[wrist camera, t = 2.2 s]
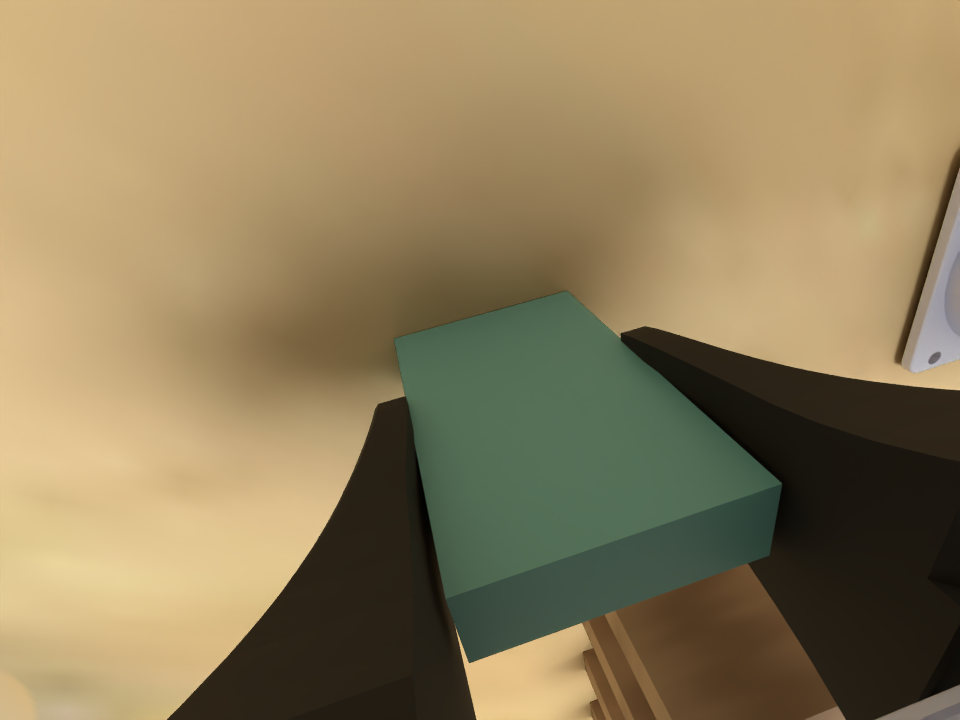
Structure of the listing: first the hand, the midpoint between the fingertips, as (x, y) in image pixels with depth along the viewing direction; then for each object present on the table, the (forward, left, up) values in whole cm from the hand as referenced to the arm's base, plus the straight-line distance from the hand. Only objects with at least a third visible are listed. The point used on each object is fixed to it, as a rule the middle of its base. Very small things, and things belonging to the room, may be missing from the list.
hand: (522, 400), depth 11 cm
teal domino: (0, 0, -3) cm, 3 cm away
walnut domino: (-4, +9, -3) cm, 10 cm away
